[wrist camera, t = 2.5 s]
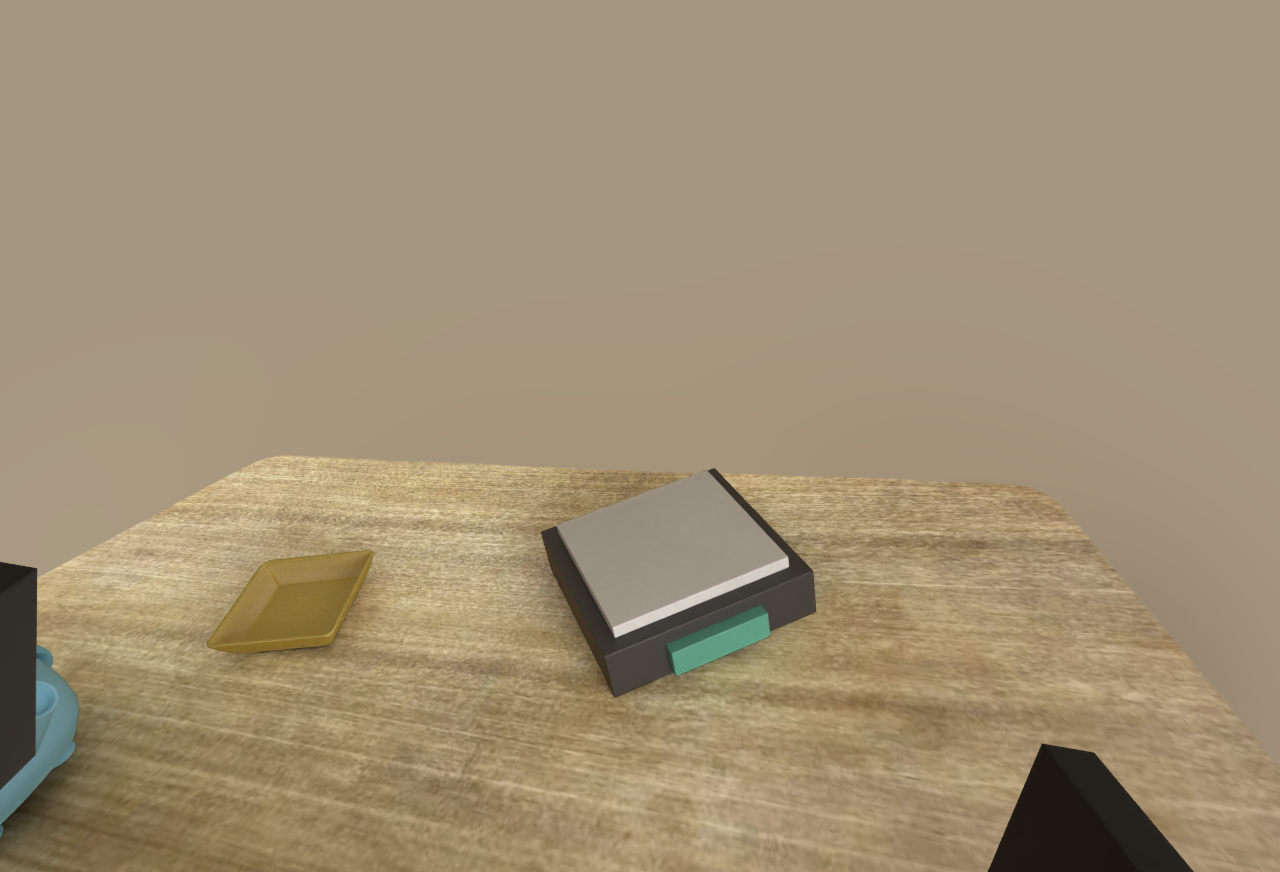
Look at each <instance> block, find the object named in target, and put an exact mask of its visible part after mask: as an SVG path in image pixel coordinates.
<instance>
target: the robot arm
mask: <svg viewBox="0 0 1280 872" xmlns="http://www.w3.org/2000/svg"><path fill="white" fill-rule="evenodd" d="M36 641H37V568H32V567H26V566H20V565H15V564H8V563H3V562H0V790H1V789H2V788H3V787H4V786H5V785H6V784H7V783H8V782H9V781H10V780H11V779H12V778H13V777H14V776H15V775H16V774H17V773H18V772H19V771H20V770H21V769H22V768H23V767H24V766H25V765H26V764H27V763H28V762H29V761H30V760H31V759H32V758H33V757H34V756H35V755H36ZM988 872H1193V870H1192V869H1191V868H1190V867H1189V866H1188V864H1187V863H1186V862H1185V861H1184V860H1183V858H1182V857H1181V856H1180V855H1179V854H1178V852H1177V851H1176V850H1175V849H1174V848H1173V846H1172V845H1171V844H1170V843H1169V842H1168V840H1167V839H1166V838H1165V837H1164V836H1163V834H1162V833H1161V832H1160V831H1159V830H1158V828H1157V827H1156V826H1155V825H1154V824H1153V822H1152V821H1151V820H1150V819H1149V818H1148V816H1147V815H1146V814H1145V813H1144V812H1143V811H1142V809H1141V808H1140V807H1139V806H1138V805H1137V803H1136V802H1135V801H1134V800H1133V799H1132V797H1131V796H1130V795H1129V794H1128V793H1127V791H1126V790H1125V789H1124V788H1123V787H1122V785H1121V784H1120V783H1119V782H1118V781H1117V779H1116V778H1115V777H1114V776H1113V775H1112V773H1111V772H1110V771H1109V770H1108V769H1107V767H1106V766H1105V765H1104V764H1103V763H1102V761H1101V760H1100V759H1099V758H1098V757H1097V755H1096V754H1095V753H1093V752H1087V751H1082V750H1076V749H1070V748H1064V747H1059V746H1053V745H1047V744H1042V745H1041V747H1040V749H1039V752H1038V754H1037V757H1036V759H1035V761H1034V764H1033V766H1032V768H1031V771H1030V773H1029V775H1028V778H1027V780H1026V783H1025V785H1024V787H1023V790H1022V792H1021V794H1020V797H1019V799H1018V802H1017V804H1016V806H1015V809H1014V811H1013V813H1012V816H1011V818H1010V821H1009V823H1008V825H1007V828H1006V830H1005V832H1004V835H1003V837H1002V839H1001V842H1000V844H999V847H998V849H997V851H996V854H995V856H994V858H993V861H992V863H991V866H990V868H989V870H988Z"/></svg>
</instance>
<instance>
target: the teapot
mask: <svg viewBox="0 0 1280 872" xmlns="http://www.w3.org/2000/svg"><path fill="white" fill-rule="evenodd" d="M52 664H53V657H52V655H51V653H50V652H49V651H48V650H47V649H46V648H44V647H42V646H39V645H36V755H35V756H34V757H33V758H32V759H31V760H30V761H29V762H28V763H27V764H26V765H25V766H24V767H23V768H22V769H21V770H20V771H19V772H18V773H17V774H16V775H15V776H14V777H13V778H12V779H11V780H10V781H9V782H8V783H7V784H6V785H5V786H4V787H3V788H2V789H1V790H0V837H1V836H2V833H3V826H2V825H1V824H2V823H3V822H4V821H5V820H6V819H7V818H8V817H9V816H10V815H11V814H12V813H13V812H14V811H15V810H16V809H17V808H18V807H19V806H20V805H21V804H22V803H23V802H24V801H25V800H26V799H27V797H28V796H29V795H30V794H31V793H32V792H33V791H34V790H35V789H36V788H37V786H38V785H39V784H40V783H41V782H42V781H43V780H44V778H45V777H46V776H47V775H48V773H49V772H50V771H51V770H52V769H53V768H55V767H57V766H59V765H61V764H62V763H63V762H65V761H66V760H67V759H68V758H69V757H70V756H71V755H72V753H73V752H74V750H75V747H76V744H75V742H74V741H73V738H74V735H75V731H76V727H77V721H78V713H79V704H78V699H77V695H76V694H75V693H74V691H73V690H72V689H71V687H70V686H69V685H68V683H67V682H66V681H65V680H64V679H63V678H62V677H61V676H60V675H59V674H58V673H57V672H55V671H54V670H53V669H52V668H51V667H52Z"/></svg>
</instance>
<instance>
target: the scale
mask: <svg viewBox="0 0 1280 872" xmlns="http://www.w3.org/2000/svg"><path fill="white" fill-rule="evenodd" d="M541 535H542V539H543V542H544V546H545V549H546V553H547V556H548V560H549V563H550V567H551V569H552V571H553V573H554V575H555V577H556V579H557V581H558V584H559V586H560V588H561V590H562V592H563V594H564V596H565V598H566V600H567V602H568V604H569V606H570V608H571V610H572V612H573V614H574V616H575V618H576V620H577V622H578V624H579V626H580V628H581V630H582V632H583V634H584V636H585V638H586V640H587V642H588V644H589V646H590V649H591V651H592V653H593V655H594V657H595V659H596V661H597V663H598V665H599V667H600V669H601V671H602V673H603V675H604V677H605V679H606V681H607V683H608V685H609V687H610V689H611V691H612V693H613V695H614V697H617V696H619V695H622V694H624V693H626V692H629V691H631V690H633V689H636V688H638V687H640V686H643V685H645V684H647V683H650V682H652V681H654V680H657V679H659V678H661V677H664V676H666V675H668V674H671V673H673V672H674V674H675V675H676V676H678V675H681V674H683V673H685V672H688V671H690V670H692V669H695V668H697V667H699V666H702V665H704V664H706V663H709V662H711V661H713V660H716V659H718V658H720V657H723V656H725V655H727V654H730V653H732V652H734V651H737V650H739V649H741V648H744V647H746V646H748V645H751V644H753V643H755V642H758V641H760V640H762V639H765V638H767V637H769V636H770V631H772V630H774V629H776V628H779V627H781V626H783V625H786V624H788V623H790V622H793V621H795V620H797V619H800V618H802V617H804V616H807V615H809V614H811V613H814V612H816V603H815V590H814V576H813V570H812V569H811V568H810V567H809V566H808V565H807V564H806V563H805V562H804V561H803V560H802V559H801V558H800V557H799V556H798V555H797V554H796V553H795V552H794V551H793V550H792V548H791V547H790V546H789V545H788V544H787V543H786V542H785V541H784V540H783V539H782V538H781V537H780V536H779V535H778V534H777V533H776V532H775V531H774V530H773V529H772V528H771V527H770V526H769V524H768V523H767V522H766V521H765V520H764V519H763V518H762V517H761V516H760V515H759V514H758V513H757V512H756V511H755V510H754V509H753V508H752V507H751V506H750V505H749V504H748V503H747V502H746V500H745V499H744V498H743V497H742V496H741V495H740V494H739V493H738V492H737V491H736V490H735V489H734V488H733V487H732V486H731V485H730V484H729V483H728V482H727V481H726V480H725V479H724V478H723V476H722V475H721V474H720V473H719V472H718V471H717V470H716V469H711V470H708V471H707V470H705V471H702V472H699V473H697V474H694V475H691V476H688V477H686V478H683V479H680V480H677V481H675V482H672V483H669V484H667V485H664V486H661V487H658V488H656V489H653V490H650V491H647V492H645V493H642V494H639V495H636V496H634V497H631V498H628V499H626V500H623V501H620V502H617V503H615V504H612V505H609V506H606V507H604V508H601V509H598V510H596V511H593V512H590V513H587V514H585V515H582V516H579V517H576V518H574V519H571V520H568V521H565V522H563V523H560V524H557V526H555V527H553V528H550V529H547V530H545V531H542V532H541Z"/></svg>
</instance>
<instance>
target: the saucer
mask: <svg viewBox="0 0 1280 872" xmlns="http://www.w3.org/2000/svg"><path fill="white" fill-rule="evenodd" d="M373 555H374V552H373V551H371V550H364V551H354V552H344V553H335V554H326V555H318V556H308V557H298V558H288V559H275V560H269V561H267V562H265V563H264V564H262V565H261V566H260V567H259V568H258V570H257V571H256V572H255V574H254V575H253V577H252V578H251V580H250V581H249V583H248V584H247V586H246V587H245V589H244V590H243V591H242V593H241V594H240V596H239V597H238V599H237V600H236V602H235V604H234V605H233V606H232V607H231V609H230V611H229V612H228V614H227V615H226V616H225V618H224V619H223V621H222V622H221V623H220V625H219V626H218V628H217V629H216V631H215V632H214V634H213V635H212V636H211V638H210V639H209V640H208V642H207V646H208V647H209V648H211V649H215V650H218V651H223V652H230V653H253V652H263V651H274V650H284V649H294V648H306V647H317V646H326V645H329V644H331V643H332V642H333V640H334V639H335V636H336V634H337V632H338V630H339V628H340V626H341V625H342V623H343V621H344V619H345V617H346V615H347V613H348V611H349V609H350V607H351V605H352V603H353V601H354V599H355V597H356V595H357V593H358V591H359V589H360V587H361V585H362V583H363V581H364V579H365V577H366V575H367V573H368V570H369V568H370V566H371V563H372V559H373Z"/></svg>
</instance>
